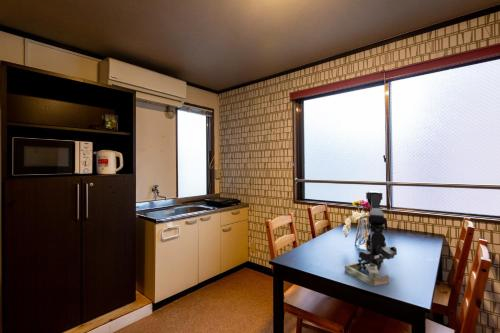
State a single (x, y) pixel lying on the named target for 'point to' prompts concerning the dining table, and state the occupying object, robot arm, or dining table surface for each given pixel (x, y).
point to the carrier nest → (371, 281)
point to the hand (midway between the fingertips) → (377, 270)
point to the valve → (369, 268)
